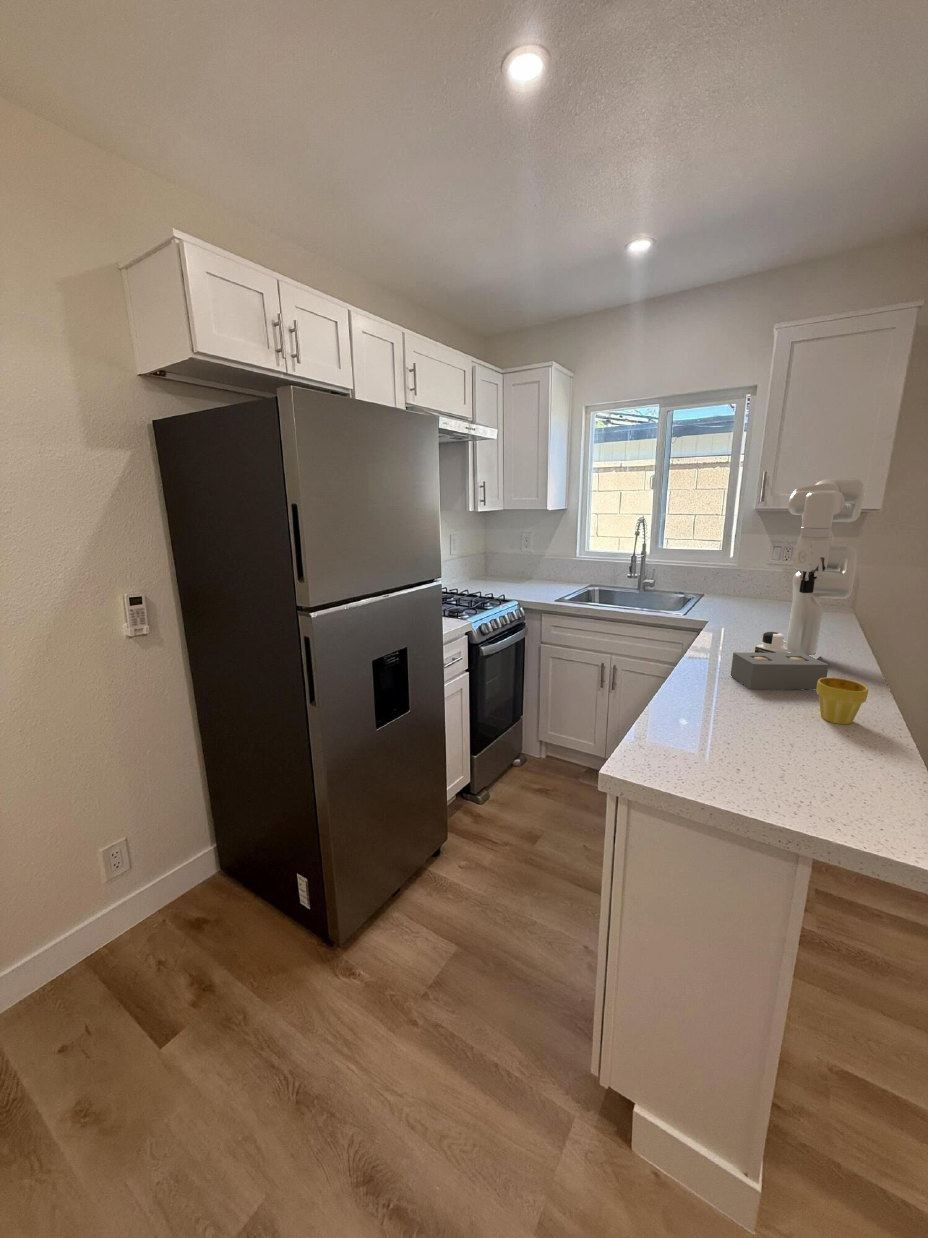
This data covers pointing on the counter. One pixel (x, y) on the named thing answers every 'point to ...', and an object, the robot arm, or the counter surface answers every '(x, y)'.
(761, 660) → the peg
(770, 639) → the medicine bottle
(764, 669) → the collar block
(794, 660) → the peg
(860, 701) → the plant pot
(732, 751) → the counter surface
